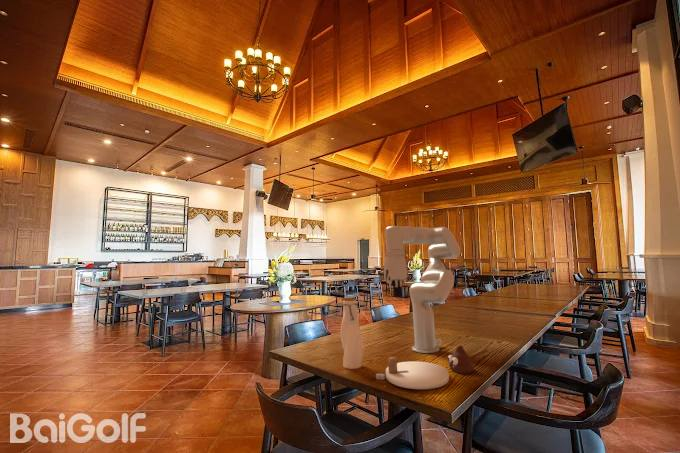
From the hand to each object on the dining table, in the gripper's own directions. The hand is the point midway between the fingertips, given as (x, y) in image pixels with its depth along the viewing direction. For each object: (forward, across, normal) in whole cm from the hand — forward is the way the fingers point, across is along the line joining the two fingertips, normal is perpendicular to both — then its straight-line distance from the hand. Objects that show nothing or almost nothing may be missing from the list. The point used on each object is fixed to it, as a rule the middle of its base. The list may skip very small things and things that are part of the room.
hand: (397, 296), depth 138 cm
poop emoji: (+27, -10, +22) cm, 37 cm away
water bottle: (+27, +20, -7) cm, 35 cm away
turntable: (+27, +10, +19) cm, 35 cm away
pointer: (+27, +20, +11) cm, 35 cm away
